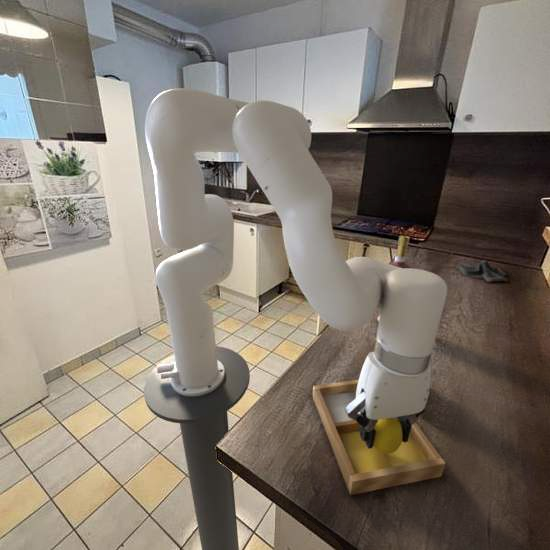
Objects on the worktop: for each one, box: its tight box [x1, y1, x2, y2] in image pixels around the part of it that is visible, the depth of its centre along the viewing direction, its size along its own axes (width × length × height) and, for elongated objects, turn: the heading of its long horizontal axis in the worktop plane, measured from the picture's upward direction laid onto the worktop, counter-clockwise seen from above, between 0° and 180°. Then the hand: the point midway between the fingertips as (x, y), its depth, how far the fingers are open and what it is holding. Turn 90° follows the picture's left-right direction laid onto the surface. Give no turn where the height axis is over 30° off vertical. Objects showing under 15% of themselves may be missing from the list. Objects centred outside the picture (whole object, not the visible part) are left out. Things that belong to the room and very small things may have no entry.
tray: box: [312, 379, 446, 496], centre depth 55 cm, size 16×20×3 cm
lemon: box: [373, 417, 403, 454], centre depth 49 cm, size 6×6×8 cm
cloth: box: [458, 259, 509, 283], centre depth 128 cm, size 22×19×6 cm
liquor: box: [377, 235, 412, 322], centre depth 85 cm, size 7×7×28 cm
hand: (383, 437), depth 50 cm, fingers closed on lemon, 5 cm apart
